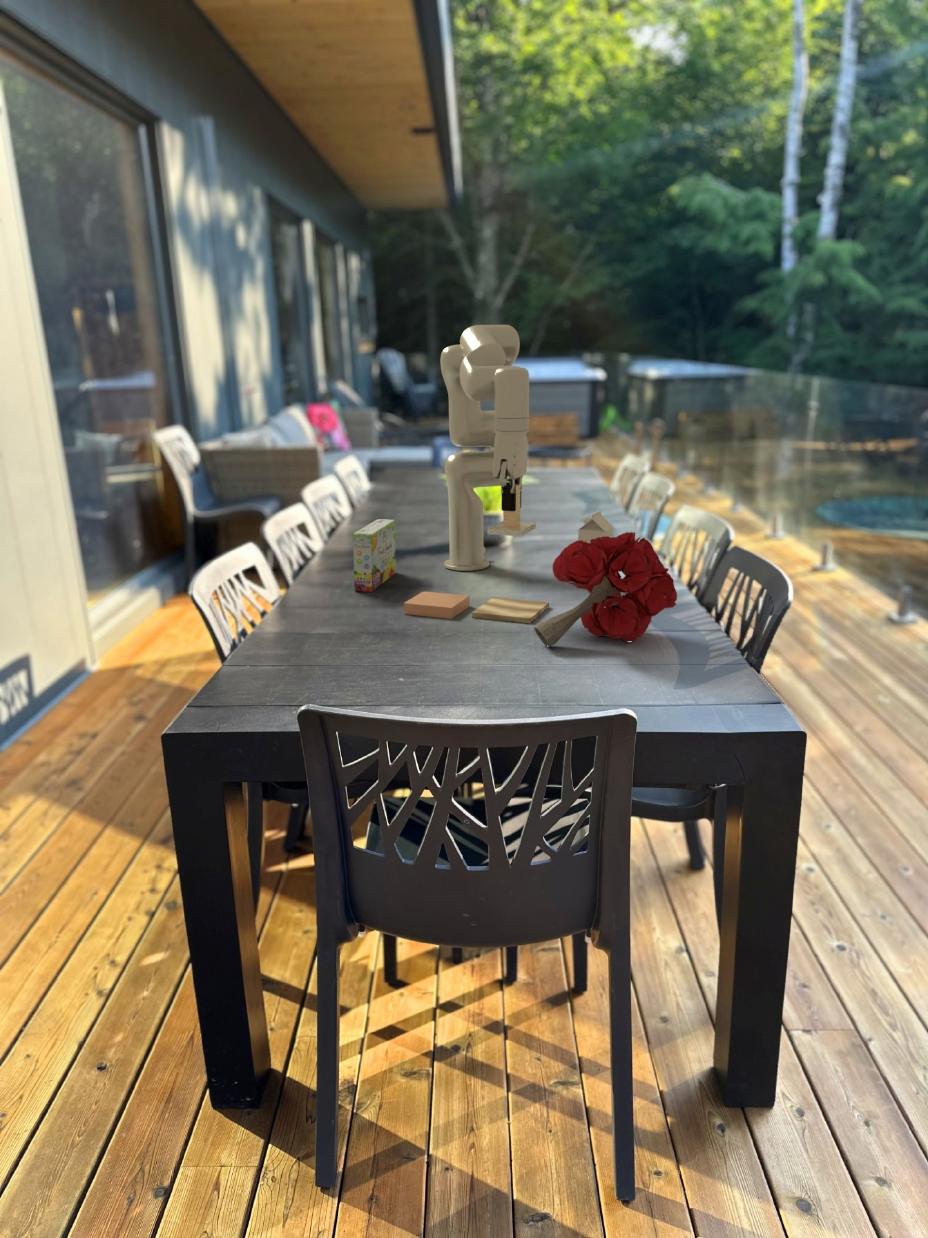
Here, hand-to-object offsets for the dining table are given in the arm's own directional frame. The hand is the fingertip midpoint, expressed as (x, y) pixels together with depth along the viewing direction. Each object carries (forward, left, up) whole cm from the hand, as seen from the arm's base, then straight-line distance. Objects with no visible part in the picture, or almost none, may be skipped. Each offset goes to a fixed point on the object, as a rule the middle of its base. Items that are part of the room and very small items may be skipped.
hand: (511, 508), depth 203 cm
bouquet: (+13, +25, -24) cm, 37 cm away
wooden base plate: (0, 0, -24) cm, 24 cm away
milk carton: (-30, +12, -24) cm, 41 cm away
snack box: (-15, -43, -24) cm, 52 cm away
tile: (-2, -17, -23) cm, 29 cm away
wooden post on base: (0, 0, -5) cm, 5 cm away
